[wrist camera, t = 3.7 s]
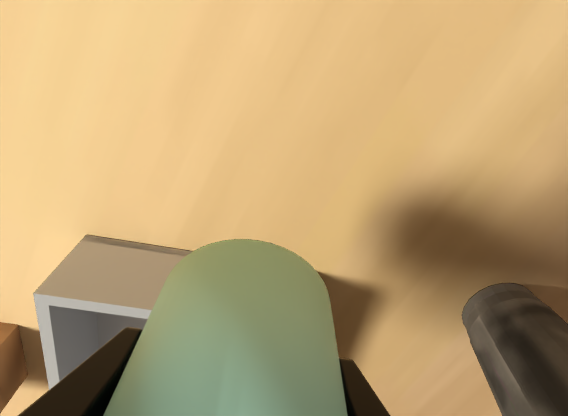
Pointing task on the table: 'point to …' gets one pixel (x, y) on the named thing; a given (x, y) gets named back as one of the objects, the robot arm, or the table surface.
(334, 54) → the table surface
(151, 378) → the teal cylinder
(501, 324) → the beverage cup
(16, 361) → the walnut cube
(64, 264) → the tote
